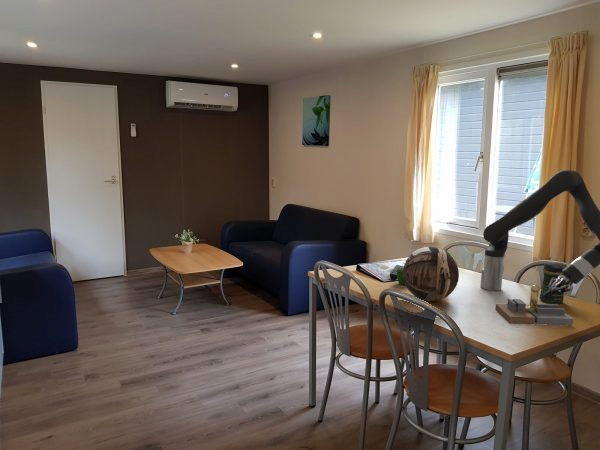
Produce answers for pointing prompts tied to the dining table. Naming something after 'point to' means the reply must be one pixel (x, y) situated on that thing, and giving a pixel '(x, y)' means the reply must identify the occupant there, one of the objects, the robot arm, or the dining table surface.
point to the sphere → (430, 274)
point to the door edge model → (533, 313)
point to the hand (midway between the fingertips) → (544, 297)
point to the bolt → (533, 299)
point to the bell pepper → (400, 276)
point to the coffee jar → (549, 273)
